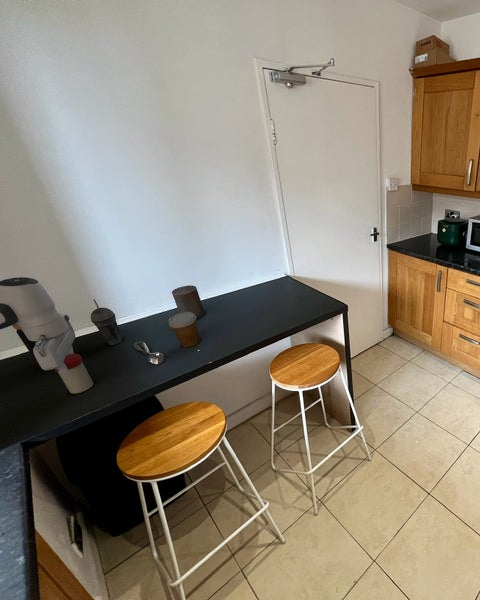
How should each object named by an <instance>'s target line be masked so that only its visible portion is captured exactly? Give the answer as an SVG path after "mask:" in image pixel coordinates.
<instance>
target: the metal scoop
mask: <svg viewBox="0 0 480 600" xmlns="http://www.w3.org/2000/svg"><path fill="white" fill-rule="evenodd" d="M138 344H140V345H138ZM133 347H134V349H136V350H137V351H138V352H140V353H142V354H146V355H148V356H147V358H146V359H147V361H148V362H149V363H151V364H154V365H160V364H161V363H162V362H164V358H165V356H164V354H163V353H162V352H150V350H149V348H148V346H147V344H146V343H145V342H144V341H142V340H141V341H140V340H139V341H135V342H134V343H133Z"/></svg>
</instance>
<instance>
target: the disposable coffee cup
mask: <svg viewBox="0 0 480 600" xmlns="http://www.w3.org/2000/svg"><path fill="white" fill-rule="evenodd" d="M196 318H197V317H196V315H194V313H191V312H184V313H179V312H178V313H176V314H174V315H172V316H171V317H169V318H168V323H167V325H168V326H169V327H170V328H171V330H172V331H173V333H174V335H175V337H176V338H177V340H178V341H179V343H180V345H181V346H182V347H183V348H190V347H194V346H196V345H197V344H199V343H200V341H201V340H200V335H199V328H198V324H197V323H198V322H197V319H196Z"/></svg>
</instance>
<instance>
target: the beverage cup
mask: <svg viewBox="0 0 480 600" xmlns="http://www.w3.org/2000/svg"><path fill="white" fill-rule="evenodd" d="M93 303H94V304H95V306H96V308H95V309H94V310H93V311H92V312H91V314H90V321H91V323H92V324H93V325H94V326H95V327H96V328H97V330H98V331H99V333H100V334H101V336H102V337H103V339H104V340H105V342H106V343H107V344H108V345H109V346H114V345H118V344H120V343H121V342H122V341H123V337H122V333H121V331H120V328H119V325H118V322H117V316H116V314H115V313H114V311H113V310H112V309H110V308H107V307H100V306H99V304H98V302H97V301H96V299H93Z"/></svg>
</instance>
